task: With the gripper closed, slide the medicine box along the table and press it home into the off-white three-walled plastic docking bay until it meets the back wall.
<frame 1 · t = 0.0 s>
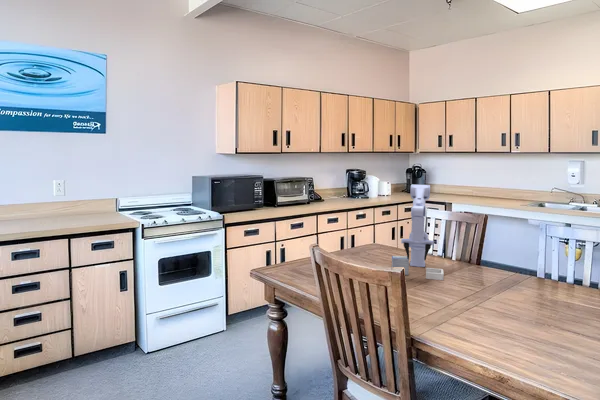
hand: (416, 259, 198), 10 cm above the table, tool pointing down, fingers open, 7 cm apart
medicine box: (399, 274, 209), on the table
dock: (433, 276, 205), on the table
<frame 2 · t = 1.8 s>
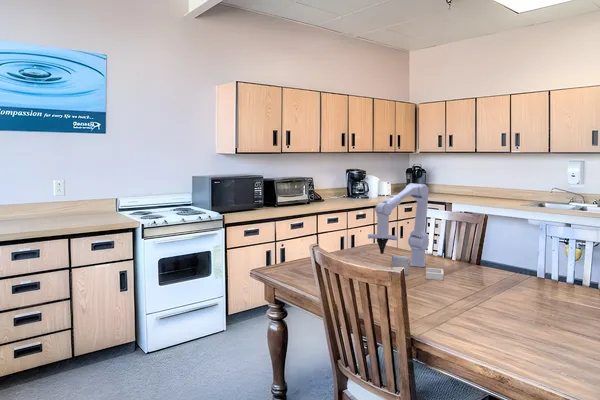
hand: (382, 253, 211), 10 cm above the table, tool pointing down, fingers closed
nothing on the table moved.
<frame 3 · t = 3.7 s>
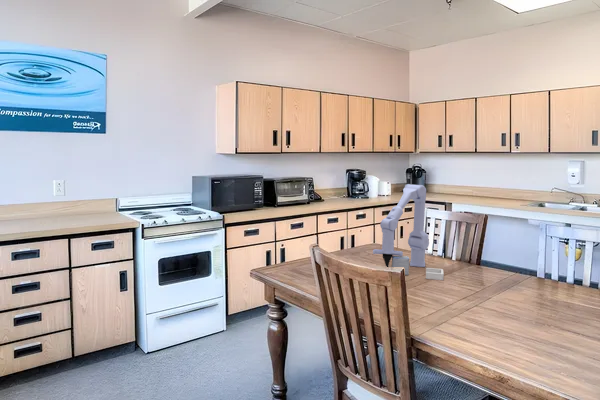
hand: (387, 268, 211), 2 cm above the table, tool pointing down, fingers closed
medicine box: (399, 274, 209), on the table, touching gripper
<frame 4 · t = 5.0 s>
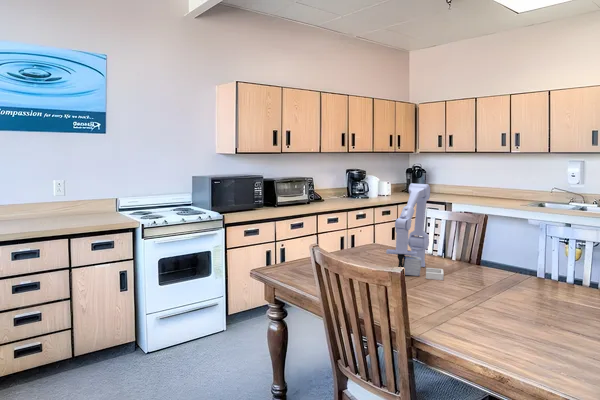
hand: (400, 269, 208), 3 cm above the table, tool pointing down, fingers closed, pressing on medicine box
medicine box: (410, 274, 207), on the table, touching gripper
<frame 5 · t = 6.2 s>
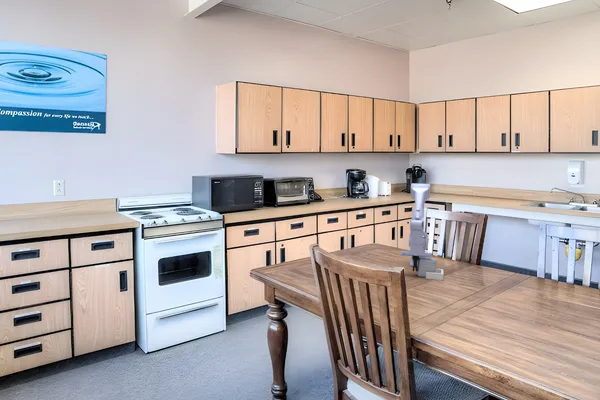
hand: (415, 270, 207), 2 cm above the table, tool pointing down, fingers closed, pressing on medicine box
medicine box: (425, 276, 205), on the table, touching gripper
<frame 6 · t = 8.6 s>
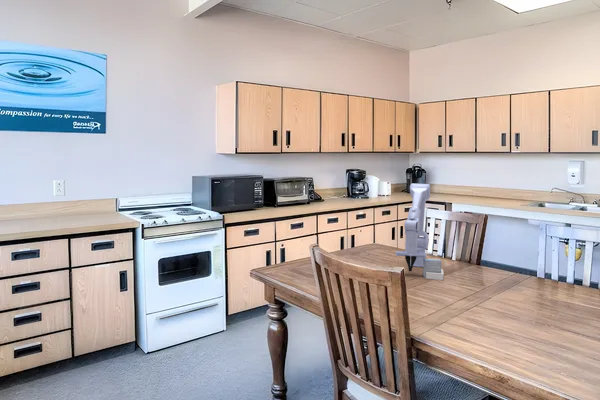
hand: (410, 270, 208), 2 cm above the table, tool pointing down, fingers closed
medicine box: (431, 277, 205), on the table
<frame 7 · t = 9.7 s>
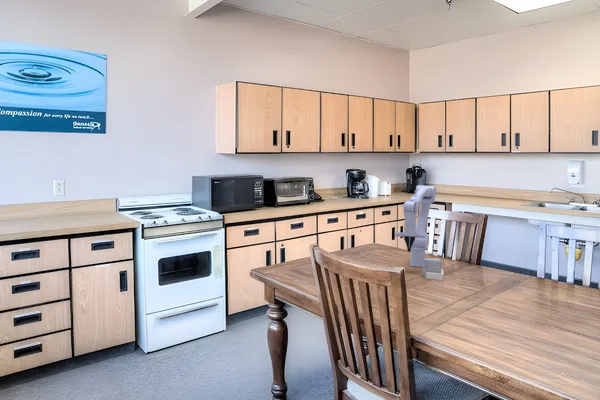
hand: (409, 251, 212), 10 cm above the table, tool pointing down, fingers closed
nothing on the table moved.
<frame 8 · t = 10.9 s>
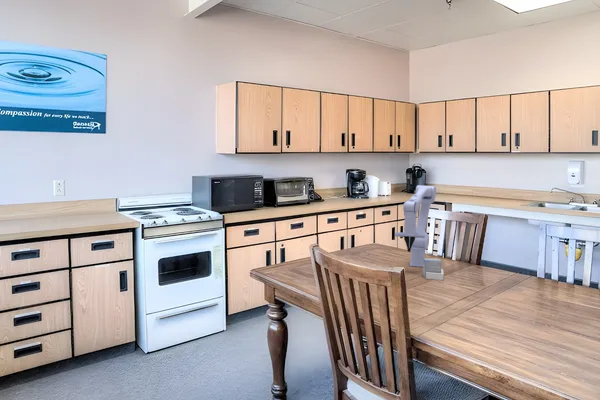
hand: (409, 251, 212), 10 cm above the table, tool pointing down, fingers closed
nothing on the table moved.
at the end: medicine box 0.2 cm from the target spot on the dock, point 0.0 cm above the dock's base; medicine box tilted 0°; medicine box moved 15.2 cm from its start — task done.
